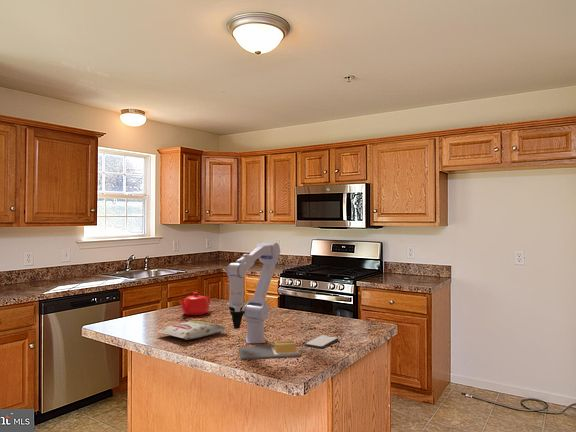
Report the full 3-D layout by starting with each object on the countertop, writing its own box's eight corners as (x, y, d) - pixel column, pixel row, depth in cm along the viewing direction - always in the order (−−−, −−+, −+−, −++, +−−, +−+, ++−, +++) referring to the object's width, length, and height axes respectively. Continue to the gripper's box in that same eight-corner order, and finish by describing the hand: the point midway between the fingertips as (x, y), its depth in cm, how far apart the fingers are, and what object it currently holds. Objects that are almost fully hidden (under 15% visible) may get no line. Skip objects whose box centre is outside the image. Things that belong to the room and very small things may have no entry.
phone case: (322, 350, 171) (339, 341, 185) (322, 346, 171) (339, 337, 185) (303, 347, 176) (321, 338, 190) (303, 343, 176) (321, 334, 190)
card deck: (293, 347, 171) (293, 340, 171) (295, 351, 166) (295, 343, 166) (273, 348, 169) (273, 341, 169) (275, 352, 164) (275, 344, 165)
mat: (238, 348, 171) (238, 347, 171) (293, 346, 175) (293, 344, 175) (240, 359, 157) (240, 358, 157) (301, 356, 162) (301, 354, 162)
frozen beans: (228, 321, 194) (183, 331, 176) (229, 333, 194) (183, 345, 175) (200, 316, 208) (155, 325, 189) (201, 328, 208) (156, 338, 189)
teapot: (199, 309, 251) (199, 288, 251) (219, 312, 243) (219, 290, 243) (167, 316, 230) (168, 294, 230) (188, 320, 222) (188, 297, 222)
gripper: (225, 290, 177) (225, 322, 177) (227, 295, 163) (227, 331, 162) (242, 289, 178) (242, 321, 178) (245, 295, 164) (245, 330, 164)
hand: (236, 326), depth 170 cm, fingers open, 7 cm apart
